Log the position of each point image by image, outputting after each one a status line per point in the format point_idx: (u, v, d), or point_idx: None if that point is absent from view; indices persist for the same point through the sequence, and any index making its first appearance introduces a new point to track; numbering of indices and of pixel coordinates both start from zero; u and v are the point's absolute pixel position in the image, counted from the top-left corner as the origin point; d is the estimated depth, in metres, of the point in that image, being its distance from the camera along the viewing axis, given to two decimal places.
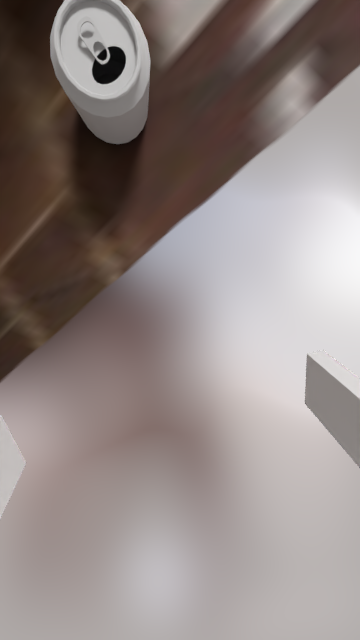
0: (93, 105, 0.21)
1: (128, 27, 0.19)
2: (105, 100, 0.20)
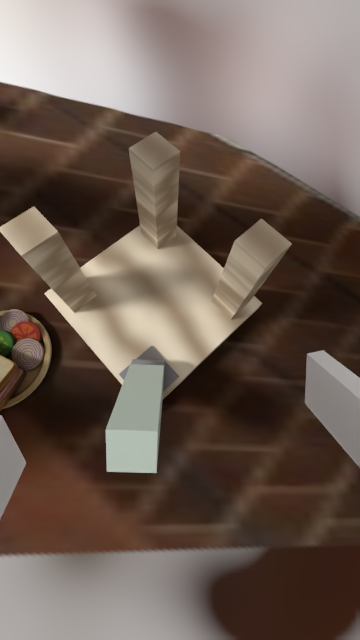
0: None
1: None
2: None
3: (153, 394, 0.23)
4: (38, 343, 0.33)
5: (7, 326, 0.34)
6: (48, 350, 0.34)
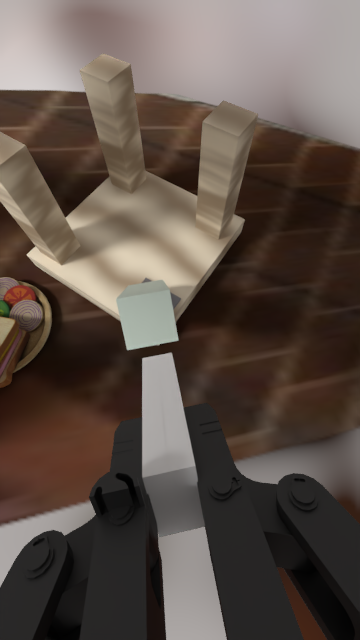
0: None
1: None
2: None
3: (157, 285, 0.22)
4: (35, 302, 0.32)
5: None
6: (47, 307, 0.32)
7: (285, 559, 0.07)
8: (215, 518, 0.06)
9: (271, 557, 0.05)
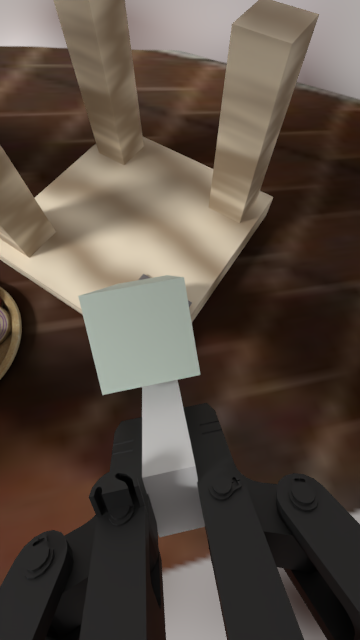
0: None
1: None
2: None
3: (160, 278, 0.13)
4: None
5: None
6: (16, 313, 0.24)
7: (285, 559, 0.07)
8: (215, 518, 0.06)
9: (271, 557, 0.05)
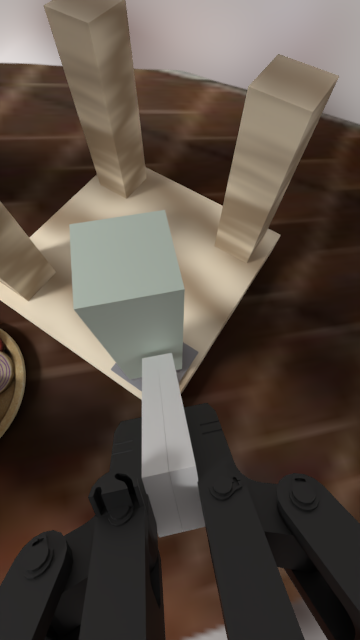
0: None
1: None
2: None
3: None
4: (0, 353, 0.23)
5: None
6: (19, 359, 0.23)
7: (285, 558, 0.07)
8: (216, 518, 0.06)
9: (272, 557, 0.05)
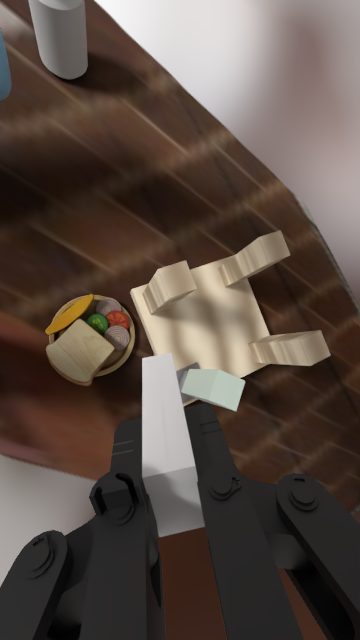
0: None
1: None
2: None
3: None
4: (127, 332, 0.42)
5: (103, 310, 0.42)
6: (133, 339, 0.43)
7: (285, 558, 0.07)
8: (215, 518, 0.06)
9: (271, 557, 0.05)
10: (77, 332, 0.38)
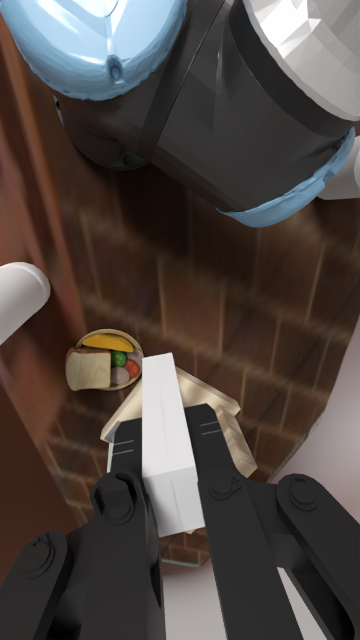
0: None
1: None
2: None
3: None
4: (128, 380, 0.50)
5: (130, 355, 0.48)
6: (126, 385, 0.50)
7: (285, 558, 0.07)
8: (215, 518, 0.06)
9: (271, 557, 0.05)
10: (99, 359, 0.45)
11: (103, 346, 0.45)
